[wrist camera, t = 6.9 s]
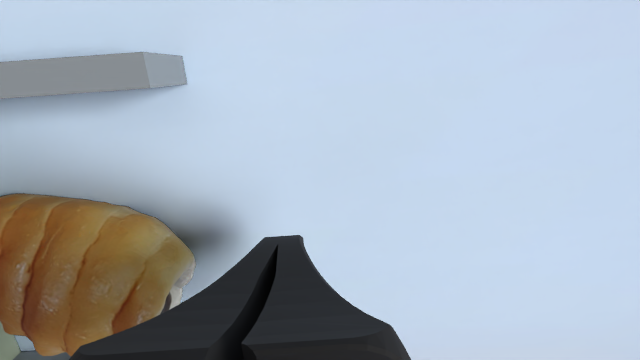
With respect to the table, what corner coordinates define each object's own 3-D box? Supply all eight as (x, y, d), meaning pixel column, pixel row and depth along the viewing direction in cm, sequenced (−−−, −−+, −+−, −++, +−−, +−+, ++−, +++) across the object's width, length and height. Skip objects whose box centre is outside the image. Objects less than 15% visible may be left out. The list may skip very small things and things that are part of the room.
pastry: (-25, 282, 16) (-128, 346, 12) (-11, 149, 14) (-128, 177, 10) (174, 339, 17) (136, 414, 13) (212, 224, 15) (179, 274, 11)
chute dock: (182, 55, 12) (133, 50, 9) (236, 354, 17) (216, 424, 14) (-138, 78, 13) (-302, 81, 9) (-2, 369, 17) (-80, 442, 14)
